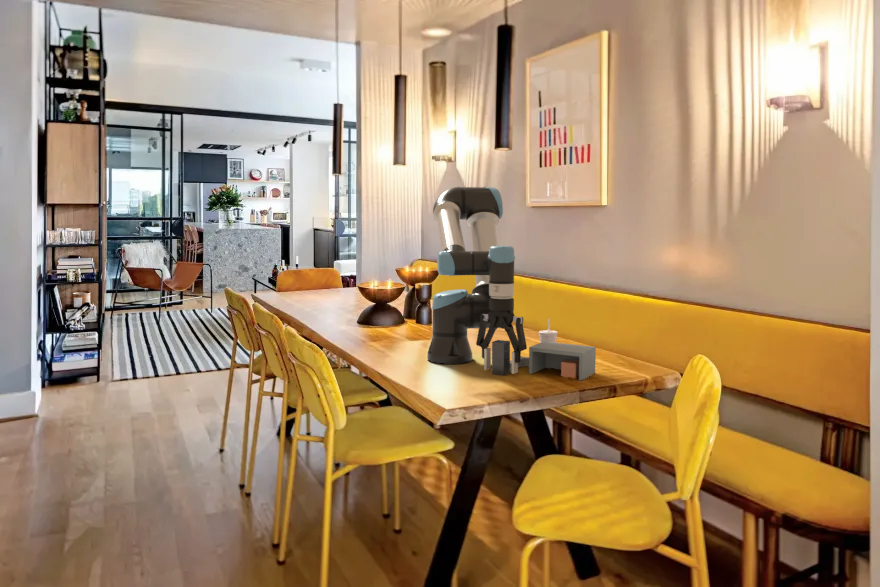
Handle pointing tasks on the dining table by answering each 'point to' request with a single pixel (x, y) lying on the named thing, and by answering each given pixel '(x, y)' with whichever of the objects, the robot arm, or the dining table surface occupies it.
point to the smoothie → (548, 334)
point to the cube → (570, 368)
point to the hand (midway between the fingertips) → (500, 370)
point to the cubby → (562, 357)
